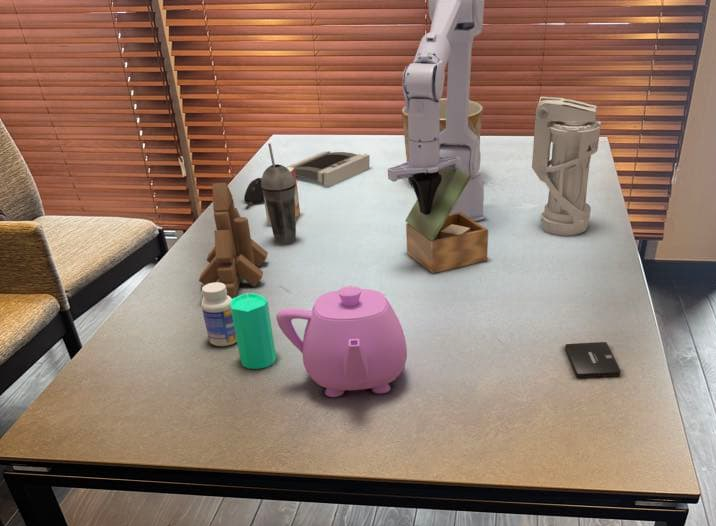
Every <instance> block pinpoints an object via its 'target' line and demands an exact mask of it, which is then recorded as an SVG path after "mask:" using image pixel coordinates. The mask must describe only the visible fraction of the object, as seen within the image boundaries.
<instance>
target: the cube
mask: <svg viewBox="0 0 716 526" xmlns="http://www.w3.org/2000/svg"><path fill="white" fill-rule="evenodd" d="M470 229H471V228H468V227H463V226H458V225H453V224H451V225H450V226H448V227H447V228H445V229H443V230H442V231H441V239H442V238H446V237H451V236H455V235H460V234H464V233H469V232H470Z"/></svg>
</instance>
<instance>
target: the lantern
mask: <svg viewBox="0 0 716 526" xmlns="http://www.w3.org/2000/svg"><path fill="white" fill-rule="evenodd" d="M597 110H598V105H594V104H590V103H587V102H583V101H579V100H574V99H566V98H564V97H553V96H552V97H551V96H540V97H539V100H538V103H537V106H536V108H535V117H534V131H533V145H532V157H531V158H532V161H531V169H532V170H533V172H534V173H535V174H536V176H537V178H538V179H539V181H541V182H543V183H545V186H546V187H547V189H548V196H547V203H546V204H545V205H544V211H542V212H541V214H540V222H541V227H542V230H544V231H545V232H546V233H548V234H551V235H555V236H576V235H579V234H582V233H584V232H585V231H586V230H587V228H588V225H589V222H590V218H591V210H592V208H591V206H590V204H588V203H587V193H588V192H587V190H588V181H589V173H590V164H591V159H592V155H594V154H596V153H597V152H598V150H599V141H600V135H601V134H600V133H601V125H602V122H601V121H600V120H598V119H596V117H597ZM551 144H552V145H551ZM551 147H552V149H551Z"/></svg>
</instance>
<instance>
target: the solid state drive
mask: <svg viewBox="0 0 716 526" xmlns="http://www.w3.org/2000/svg"><path fill="white" fill-rule="evenodd" d="M564 349H565V352H566V354H567V357H568V360H569V361H570V365H571V367H572V369H573V372H574V374H575V377H576V378H580V379H581V378H583V377H602V376H609V377H619V376H621V369H620V367H619V365H618V362H617V360H616V359H615V357H614V355H613V352H612V350H611V349H610V347H609V345H608V343H607V342H606V341H598V342H597V341H596V342H579V343H577V342H576V343H566V344H565V345H564Z"/></svg>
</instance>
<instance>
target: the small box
mask: <svg viewBox="0 0 716 526" xmlns="http://www.w3.org/2000/svg"><path fill="white" fill-rule="evenodd" d="M285 167H286V168H287V169H288V170H289V171H290V172H291V174H292V175H293V178H294V181H295V184H296V186H295V196H294V197H295V221H296V220H297V219H298V218H299V217H300V216H301V209H300V198H299V191H298V182H297V176H296V172H295V168H294V167H287V166H285ZM260 178H261V180H262V176H261V177H260ZM263 203H264V207H265V208H264V209H265V215H266V221H267V226H271V222H270V217H269V213H268V209H267V204H266V200H265V197H264V202H263Z"/></svg>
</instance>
